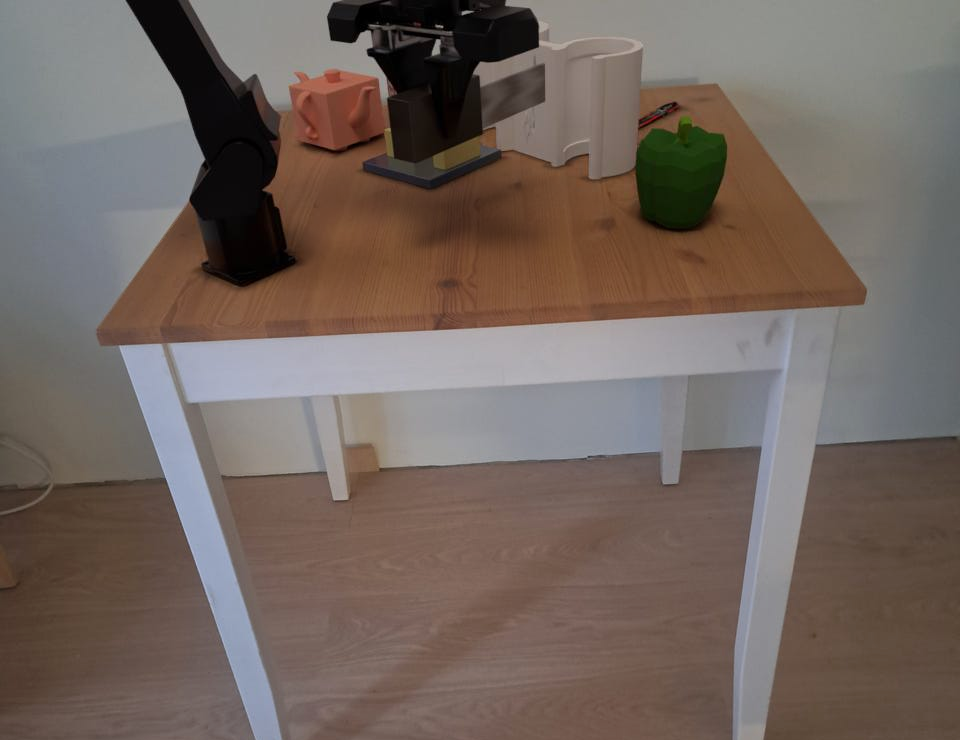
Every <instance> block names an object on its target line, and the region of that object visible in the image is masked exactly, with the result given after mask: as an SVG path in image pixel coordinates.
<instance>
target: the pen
mask: <svg viewBox="0 0 960 740" xmlns="http://www.w3.org/2000/svg"><path fill="white" fill-rule="evenodd" d="M678 107H680V104H679V103H678V102H677V101H672V102H668V103H666V104H663V105H660V106H659V107H657V108H656V109H655V110H654V111H653V110H652V111H650V113H648V114H646V115H644V116H642V117H641V118H639V121H638V128H640V127H642V126H645V125H646V124H648V123H650V122H652V121H653V120H655V119H658V117H663V116H664V115H666V114H667V113H670V112H672V111H674V110H676V109H677V108H678Z"/></svg>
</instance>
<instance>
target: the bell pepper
mask: <svg viewBox="0 0 960 740" xmlns="http://www.w3.org/2000/svg"><path fill="white" fill-rule="evenodd" d="M724 134H725V133H717V132H708V131H707V130H705V129H704V128H702V127H700V126H698V125H693V123H692V119H691V117H690V116H689V115H684V116H683V115H682V116H681V117H680V118H679V121H678V125H677V132H676V133H675V132H672V131H670V130H668V129H664V128H651V129H650V131H648V133H647V134H646V135H645V136H644V138H642V139H641V141H640V143H639V145H638V146H637V152H636V165H635V170H634V171H635V172H634V175H635V182H636V189H637V197H638V201H639V202H638V203H639V207H640V211H641V213H642V215H643V217H644V218H645V219H646V220H649V221H652V222H657V224H658V225H661V226H663V227H665V228H667V229H677V230H678V229H679V230H683V229H689V228H690V229H691V228H694V227H695V226H696V225H698V224H699V223H700V222H702V220H704V218H705V217H706V216H707V214H708V212H709V211H710V210H711V209H712V207H713V204H714V202H715V199H716V197H717V195H718V193H719V190H720V187H721V185H722V182H723V178H724V177H725V172H726V171H725V170H726V165H727V160H728V159H727V158H728V144H727V139H726V137H725V135H724Z"/></svg>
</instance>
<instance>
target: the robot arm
mask: <svg viewBox="0 0 960 740" xmlns="http://www.w3.org/2000/svg"><path fill="white" fill-rule="evenodd" d="M125 2H126V3H127V6H128V7H129V9H130V11H131V12H132V14H133V15H134V17H135V18H136V20H137V22H138V23H139V25H140V27H141V28H142V30H143V32H144V33H145V35H146V36H147V38H148V40H149V42H150V43H151V45H152V46H153V48H154V49H155V51H156V53H157V54H158V56H159V58H160V59H161V61H162V63H163V64H164V66H165V68H166V69H167V71H168V72H169V74H170V76H171V77H172V79H173V80H174V82H175V84H176V86H177V87H178V88H179V91H180V93H181V96H182V98H183V101H184V104H185V105H184V106H185V107H186V111H187V115H188V118H189V121H190V125H191V127H192V130H193V134H194V137H195V139H196V142H197V144H198V147H199V148H200V151H201V153H202V155H203V158H204V160H203V162H202V163H201V165H200V167H199V170H198V173H197V175H196V177H195V180H194V183H193V186H192V189H191V192H190V196H189V198H188V201H189V203H190V205H191V206H192V207H193V209H194V212H195V215H196V219H197V222H198V226H199V230H200V233H201V237H202V240H203V244H204V245H203V246H204V248H205V252H206V255H207V256H206V257H207V259H208V260H205V261H202V262H201V263H200V266H201V269H202V270H203V271H206V272H208V273H210V274H212V275H215V276H216V277H220V278H222V279H224V280H226V281H228V282H231V283H234V284H235V285H238V286H245V285H248V284H249V283H252V282H254V281H256V280H258V279H261V278H263V277H265V276H267V275H270V274H272V273H274V272H276V271H278V270H280V269H282V268H285V267H287V266H289V265H292V264H294V263H295V262H297V258H296V255H294V254H292V253H289V252H288V251H287V250H288V244H287V239H286V233H285V230H284V225H283V221H282V216H281V210H280V208H279V207H278V206H276V204H275V200H274V195H273V193H272V192H269V191H267V190H265V188H267V187H269V186H270V185H271V183H272V182H273V181H274V179H275V177H276V174H277V170H278V167H279V160H280V153H281V145H282V139H281V138H282V137H281V132H280V127H281V126H280V125H281V119H282V115H281V114H280V113H278V111H276V109H274V108H273V106H272V105H271V104H270V102H269V101H268V98H267V96H266V94H265V92H264V88H263V85H262V83H261V81H260V78H259V76H258V74H256V73H253V74H252V75H251V76H249V77H248V78H246V79H245V80H244V81H243V80H242V79H241V78H240V77H239V76H238V75H237V74H236V73H235V72H234V70H232V69H231V68H230V67H229V66H228V64H226V62H225V61H224V60H223V58H222V56H221V55H220V53H219V51H218V50H217V48H216V46H215V44H214V43H213V41H212V39H211V37H210V35H209V34H208V32H207V30H206V28H205V27H204V25H203V23H202V21H201V19H200V18H199V16H198V14H197V12H196V10H195V9H194V7H193V6H192V3H191V1H190V0H125ZM506 4H507V0H337V1H334V2H332V4H331V6H330V9H329V11H328V13H327V15H326V20H327V28H328V34H329V40H330V41H331V42H338V43H344V44H354V43H356V42H357V41H358V39H359V37H360V35H361V34H362V33H365V32H366V31H368V32H370V37H371V38H370V39H371V45H372V47H369V48H366V49H365V51H366V55H367V57H369V58H373V60H374V62H376V64H377V65H378V67H379V69H380V70H381V71H382V74H384V76H385V77H387V78H386V80H387V79H388V80H389V82H390V83H391V85H392V86H393V88H394V89H395V91H396V93H397V94H399V93H401V92H404V91H407V90H410V89H412V88H415V87H418V86H421V85H423V84H426V83H429V84H430V88H431V92H432V96H433V100H434V104H435V108H436V112H437V116H438V120H439V124H440V127H441V130H442V133H443V135H444V138H445V139H450V138H453V137H454V136H455V135H456V132H457V128H458V124H459V120H460V116H461V112H462V108H463V104H464V101H465V96H466V93H467V89H468V86H469V83H470V81H471V78H472V75H473V72H474V70H475V69H476V67H477V66H478V64H479V63H480V62H486V63H491V62H500V61H502V60H505V59H508V58H511V57H513V56H516V55H519V54H522V53H525V52H527V51H530V50H533V49H536V48H539V23H538V21H539V20H538V18H537V16H536V15H535V14H534V12H533V10H532V8H530V7H523V6H511V5H506ZM463 12H468V13H465V14H463ZM414 23H419V24H421V25H416V24H414ZM437 40H439V42H440V44H439V47H438V48H439V53H436V54H433V51H434V48H435V45H436V42H437ZM431 54H432V56H431Z"/></svg>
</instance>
